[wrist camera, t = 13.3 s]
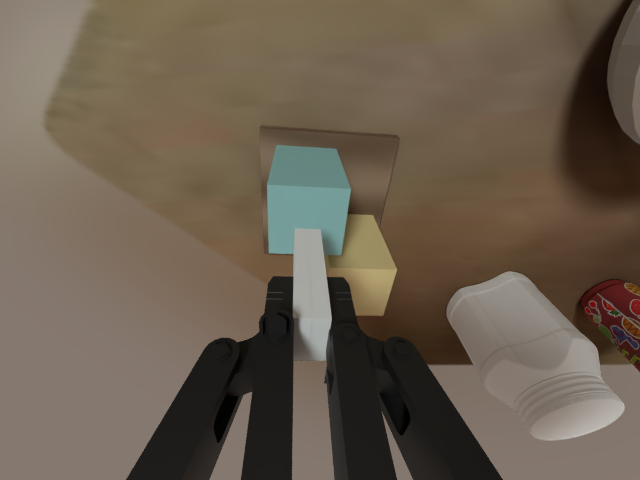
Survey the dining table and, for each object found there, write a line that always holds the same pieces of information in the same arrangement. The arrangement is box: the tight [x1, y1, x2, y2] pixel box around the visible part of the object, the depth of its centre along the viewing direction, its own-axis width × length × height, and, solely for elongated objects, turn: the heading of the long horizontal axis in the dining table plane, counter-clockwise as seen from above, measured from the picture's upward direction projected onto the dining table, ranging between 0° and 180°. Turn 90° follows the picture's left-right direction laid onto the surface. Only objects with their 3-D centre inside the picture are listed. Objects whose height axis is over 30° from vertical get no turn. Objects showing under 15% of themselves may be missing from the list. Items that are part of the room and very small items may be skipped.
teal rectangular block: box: [267, 145, 351, 255], centre depth 22 cm, size 5×5×9 cm
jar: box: [446, 271, 625, 440], centre depth 33 cm, size 12×10×15 cm
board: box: [260, 125, 400, 254], centre depth 28 cm, size 13×12×1 cm
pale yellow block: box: [324, 214, 397, 316], centre depth 26 cm, size 5×5×9 cm
